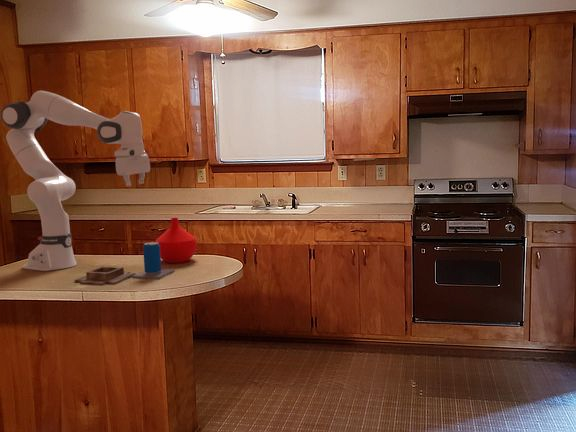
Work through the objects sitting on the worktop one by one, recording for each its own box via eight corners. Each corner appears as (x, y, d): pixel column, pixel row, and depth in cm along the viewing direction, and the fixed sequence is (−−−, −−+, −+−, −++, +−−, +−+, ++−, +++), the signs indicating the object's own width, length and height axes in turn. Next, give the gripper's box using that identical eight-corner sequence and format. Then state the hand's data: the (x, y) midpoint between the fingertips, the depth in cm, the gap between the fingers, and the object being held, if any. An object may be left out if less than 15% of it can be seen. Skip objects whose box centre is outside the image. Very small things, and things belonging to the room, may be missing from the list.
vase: (148, 265, 243) (145, 221, 240) (166, 255, 261) (164, 215, 258) (188, 266, 239) (185, 221, 236) (203, 256, 257) (201, 215, 254)
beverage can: (145, 271, 228) (143, 242, 227) (162, 270, 229) (160, 241, 227) (143, 275, 222) (141, 245, 220) (160, 274, 223) (158, 244, 221)
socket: (71, 283, 216) (70, 274, 215) (100, 272, 233) (99, 263, 232) (112, 285, 211) (111, 276, 210) (138, 273, 228) (137, 265, 227)
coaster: (132, 277, 222) (132, 275, 222) (148, 270, 233) (148, 268, 233) (159, 279, 218) (159, 277, 218) (174, 271, 229) (174, 269, 229)
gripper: (139, 150, 242) (142, 182, 244) (111, 152, 223) (114, 187, 225) (152, 150, 240) (154, 182, 242) (125, 152, 221) (128, 187, 223)
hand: (135, 184), depth 233 cm, fingers open, 8 cm apart
